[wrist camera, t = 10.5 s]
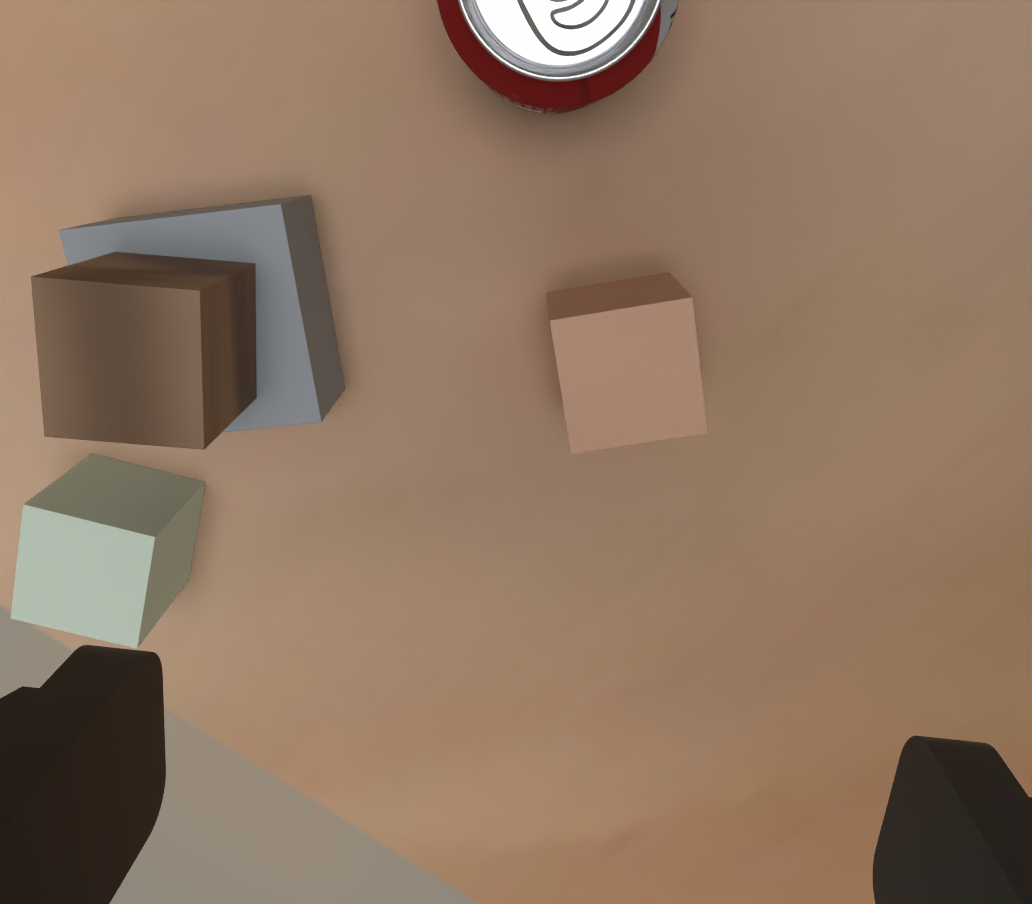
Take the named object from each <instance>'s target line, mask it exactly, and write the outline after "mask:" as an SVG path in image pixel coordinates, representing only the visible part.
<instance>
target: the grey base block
mask: <svg viewBox="0 0 1032 904" xmlns="http://www.w3.org/2000/svg"><path fill="white" fill-rule="evenodd" d="M59 232H60V236H61V240H62V244H63V247H64V251H65V255H66V259H67V263H68V266H69V265H72V264H75V263H79V262H82V261H86V260H89V259H92V258H96V257H99V256H102V255H106V254H109V253H113V252H125V253H137V254H149V255H161V256H173V257H185V258H197V259H209V260H221V261H233V262H245V263H256V374H257V398H256V399H255V400H254V401H253V402H252V403H251V404H250V405H249V406H248V407H247V408H246V409H245V410H244V411H243V412H242V413H241V414H240V415H239V416H238V417H237V418H236V419H235V420H234V421H233V422H232V423H231V424H230V425H229V426H228V427H227V428H226V429H225V430H224V431H223V432H230V431H239V430H249V429H258V428H268V427H277V426H286V425H296V424H305V423H315V422H322V420H323V419H324V418H325V416H326V415H327V413H328V412H329V411H330V409H331V408H332V406H333V405H334V404H335V402H336V401H337V399H338V398H339V397H340V395H341V394H342V392H343V391H344V390H345V386H344V380H343V375H342V369H341V363H340V358H339V352H338V346H337V341H336V335H335V330H334V324H333V318H332V313H331V307H330V301H329V296H328V290H327V284H326V279H325V273H324V267H323V262H322V256H321V250H320V245H319V239H318V233H317V228H316V222H315V217H314V211H313V205H312V200H311V195H308V196H300V197H291V198H283V199H274V200H266V201H257V202H249V203H240V204H232V205H223V206H215V207H206V208H198V209H189V210H181V211H172V212H164V213H155V214H147V215H138V216H130V217H121V218H114V219H109V220H104V221H100V222H95V223H90V224H86V225H81V226H76V227H72V228H67V229H62V230H59ZM116 443H117V442H115V444H116Z"/></svg>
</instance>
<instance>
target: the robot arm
mask: <svg viewBox="0 0 1032 904" xmlns="http://www.w3.org/2000/svg"><path fill="white" fill-rule="evenodd" d="M165 777H166V763H165V734H164V703H163V674H162V666H161V661H160V659H159V657H158V655H157V654H156V653H154V652H148V651H139V650H129V649H120V648H110V647H101V646H92V645H83V646H81V647H79V648H78V649H77V650H75V651H74V652H73V653H72V654H71V655H70V657H69V658H68V659H67V660H66V661H65V662H64V663H63V664H62V665H61V666H60V667H59V668H58V669H57V670H56V671H55V672H54V674H53V675H52V676H51V677H50V678H49V679H48V680H47V681H46V682H45V683H44V684H43V685H42V686H41V687H40V688H32V687H21V688H19V689H17V690H15V691H14V692H11V693H10V694H8V695H6V696H4V697H2V698H0V904H109V903H110V901H111V900H112V898H113V897H114V895H115V893H116V891H117V890H118V888H119V886H120V885H121V883H122V881H123V880H124V878H125V876H126V875H127V873H128V871H129V869H130V868H131V866H132V864H133V863H134V861H135V859H136V858H137V856H138V854H139V853H140V851H141V849H142V847H143V846H144V844H145V842H146V841H147V839H148V837H149V835H150V834H151V832H152V830H153V827H154V825H155V822H156V819H157V817H158V814H159V811H160V807H161V803H162V799H163V794H164V787H165ZM873 890H874V898H875V903H876V904H1032V798H1031V797H1028V795H1027V794H1026V792H1025V791H1024V789H1023V788H1022V787H1021V785H1020V784H1019V782H1018V781H1017V779H1016V778H1015V777H1014V775H1013V774H1012V772H1011V771H1010V769H1009V768H1008V767H1007V765H1006V764H1005V762H1004V761H1003V759H1002V758H1001V757H1000V755H999V754H998V752H997V751H996V750H995V749H994V748H993V747H992V746H991V745H989V744H987V743H980V742H971V741H961V740H952V739H943V738H933V737H924V736H913V737H911V738H910V739H908V741H907V742H906V743H905V745H904V747H903V749H902V752H901V756H900V759H899V763H898V767H897V770H896V774H895V778H894V782H893V786H892V789H891V793H890V797H889V801H888V805H887V808H886V812H885V816H884V820H883V823H882V827H881V831H880V835H879V839H878V842H877V846H876V850H875V855H874V862H873Z"/></svg>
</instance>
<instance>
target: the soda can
mask: <svg viewBox="0 0 1032 904" xmlns="http://www.w3.org/2000/svg"><path fill="white" fill-rule="evenodd" d="M437 3H438V7H439V11H440V15H441V18H442V21H443V24H444V27H445V29H446V31H447V34H448V36H449V38H450V40H451V42H452V44H453V45H454V47H455V49H456V51H457V52H458V54H459V55H460V57H461V58H462V59H463V61H464V62H465V63H466V64H467V66H468V67H469V68H470V69H471V70H472V71H473V72H474V73H475V74H476V75H477V76H478V77H479V78H480V79H481V80H482V81H483V82H484V83H485V84H486V85H487V86H488V87H489V88H490V89H491V90H492V91H493V92H494V93H495V94H497V95H498V96H499V97H501V98H502V99H504V100H505V101H507V102H509V103H511V104H513V105H514V106H517V107H519V108H522V109H525V110H528V111H532V112H538V113H562V112H568V111H572V110H576V109H579V108H581V107H584V106H586V105H589V104H591V103H593V102H596V101H598V100H600V99H603V98H605V97H607V96H609V95H611V94H613V93H614V92H616V91H617V90H619V89H621V88H622V87H624V86H625V85H626V84H628V83H629V82H630V81H631V80H633V79H634V78H635V77H636V76H637V75H638V74H639V73H640V72H641V71H642V70H643V69H644V68H645V67H646V66H647V65H648V63H649V62H650V61H651V60H652V58H653V57H654V56H655V54H656V53H657V52H658V50H659V48H660V47H661V45H662V43H663V42H664V40H665V38H666V36H667V34H668V32H669V30H670V27H671V25H672V22H673V20H674V17H675V14H676V10H677V7H678V3H679V0H437Z"/></svg>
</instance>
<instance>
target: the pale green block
mask: <svg viewBox="0 0 1032 904" xmlns="http://www.w3.org/2000/svg"><path fill="white" fill-rule="evenodd" d="M205 484H206V482H203V481H199V480H195V479H191V478H187V477H183V476H179V475H175V474H172V473H168V472H164V471H160V470H156V469H152V468H148V467H144V466H140V465H136V464H132V463H128V462H124V461H120V460H116V459H113V458H109V457H105V456H101V455H97V454H93V453H92V454H91V455H90V456H88V457H87V458H86V459H84V460H83V461H81V462H80V463H79V464H77V465H76V466H75V467H73V468H72V469H71V470H69V471H68V472H67V473H65V474H64V475H63V476H61V477H60V478H58V479H57V480H56V481H54V482H53V483H52V484H50V485H49V486H48V487H46V488H45V489H44V490H42V491H41V492H39V493H38V494H37V495H35V496H34V497H33V498H31V499H30V500H29V501H27V502H26V503H25V504H23V512H22V521H21V530H20V539H19V548H18V557H17V566H16V575H15V584H14V593H13V602H12V611H11V619H15V620H20V621H24V622H28V623H32V624H36V625H41V626H45V627H49V628H53V629H57V630H61V631H66V632H70V633H74V634H78V635H82V636H86V637H91V638H95V639H99V640H103V641H107V642H111V643H116V644H120V645H124V646H128V647H132V648H136V649H137V648H138V647H139V645H140V644H141V643H142V641H143V640H144V639H145V637H146V636H147V635H148V634H149V632H150V631H151V630H152V628H153V627H154V626H155V624H156V623H157V622H158V620H159V619H160V618H161V616H162V615H163V614H164V612H165V611H166V610H167V608H168V607H169V606H170V605H171V603H172V602H173V601H174V599H175V598H176V597H177V595H178V594H179V593H180V591H181V590H182V589H183V587H184V586H185V585H186V583H187V582H188V580H189V574H190V569H191V563H192V557H193V552H194V546H195V540H196V535H197V529H198V523H199V518H200V512H201V506H202V501H203V495H204V489H205Z"/></svg>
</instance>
